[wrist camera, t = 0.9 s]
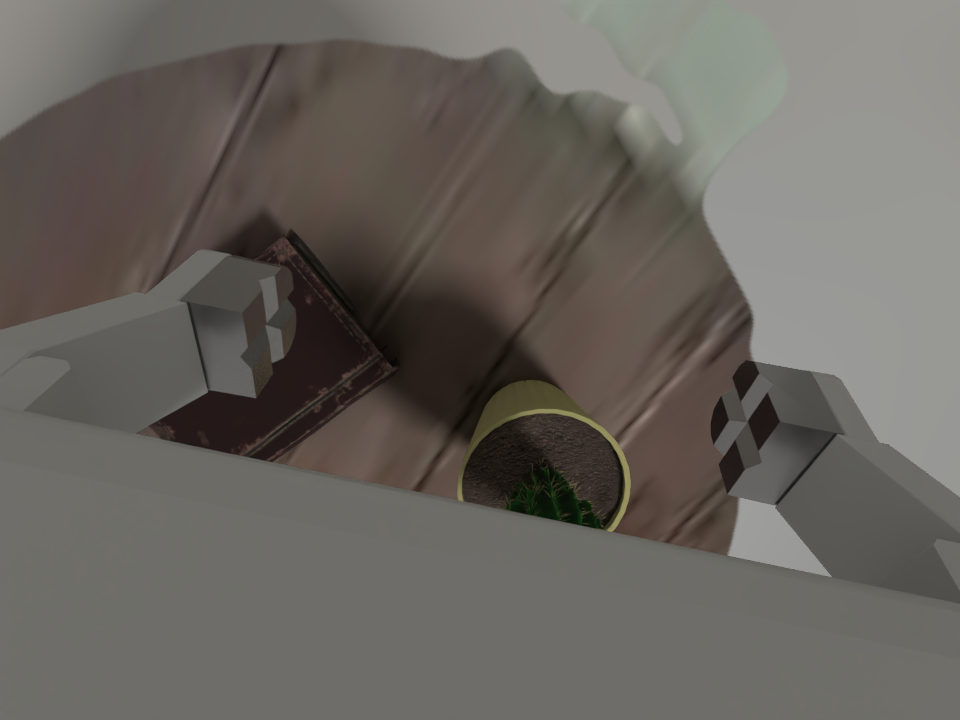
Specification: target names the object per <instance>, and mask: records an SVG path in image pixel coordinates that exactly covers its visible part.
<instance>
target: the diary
mask: <svg viewBox="0 0 960 720" xmlns="http://www.w3.org/2000/svg"><path fill="white" fill-rule="evenodd" d="M254 260H258V261H263V262H267V263H272V264H276V265H281V266H285V267H288V269H289V270H290V271H291V272H292V278H293V286H294V289H293V291H292V292H291V293H290V294H289V296H288V297H287V299H288V300H289V302H290V303H291V304H292V305H293V307H294V308H295V309H296V331H295V335H294V339H293V342H292V345H291V348H290V349H289V351H288V352H287V354H286V355H285V357H284V358H282V359H280V360H278V361H276V362H274V363H272V368H273V375H272V376H271V378H270V379H269V381H268V382H267V383H266V385H265V386H264V388H263V389H262V391H261V392H260V394H259V395H258V397H257V398H252V397H246V396H241V395H235V394H229V393H224V392H218V391H212V390H208V392H207V393H206V394H204V395H202V396H200V397H199V398H197V399H195V400H193V401H191V402H190V403H188V404H186V405H184V406H183V407H181V408H179V409H177V410H176V411H174V412H172V413H170V414H168V415H167V416H165V417H163V418H161V419H160V420H158V421H156V422H154V423H152V424H151V425H149V427H150V428H151V429H152V430H153V431H154V432H155V433H156V434H157V435H158V436H159V437H160V438H161V439H162V440H167V441H172V442H177V443H181V444H186V445H191V446H196V447H201V448H205V449H210V450H215V451H220V452H224V453H229V454H234V455H239V456H244V457H249V458H254V459H259V460H263V461H268V462H273V461H275V460H276V459H277V458H279V457H280V456H282V455H283V454H285V453H286V452H287V451H289V450H290V449H292V448H293V447H295V446H296V445H297V444H299V443H300V442H302V441H303V440H305V439H306V438H307V437H309V436H310V435H312V434H313V433H315V432H316V431H317V430H319V429H320V428H321V427H323V426H324V425H325V424H326V423H328V422H329V421H330V420H332V419H333V418H334V417H336V416H337V415H338V414H340V413H341V412H342V411H344V410H345V409H346V408H347V407H349V406H350V405H351V404H353V403H354V402H355V401H357V400H358V399H360V398H361V397H363V396H364V395H366V394H367V393H368V392H370V391H371V390H373V389H374V388H376V387H377V386H379V385H380V384H382V383H383V382H384V381H386V380H387V379H389V378H390V377H392V376H393V375H394V374H395V372H396V371H397V369H398V367H399V365H400V360H399V359H398V358H396V359H394V360H393V361H392V362H390V363H389V362H388V361H387V360H386V359H385V358H384V356H383V353H382V350H383V349H385V348H386V347H387V345H386V346H385V347H384V348H382V349H381V350H378V349H377V348H376V347H375V342H374V341H373V340H372V339H371V337H370V336H369V335H368V334H367V333H366V331H365V330H364V329H363V328H362V326H361V325H360V324H359V323H358V321H357V320H356V319H355V318H354V317H353V315H352V314H351V313H350V312H351V311H352V310H354V309H356V307H355V305H354V304H353V303H352V301H351V300H350V299H349V298H348V296H347V295H346V294H345V293H344V291H343V290H342V289H341V288H340V286H339V285H338V284H337V283H336V281H335V280H334V279H333V278H332V276H331V275H330V274H329V273H328V271H327V270H326V269H325V267H324V266H323V265H322V263H321V262H320V261H319V260H318V259H317V257H316V256H315V255H314V254H313V253H312V252H311V250H310V249H309V248H308V247H307V246H306V245H305V243H304V242H303V241H302V240H301V239H300V238H299V237H298V236H297V235H296V234H295V233H294V234H293V235H292V236H291V237H289V238H288V239H286V237H285V236H284V235H283V236H281V237H280V238H279V239H278V240H277V241H275V242H274V243H273V244H272V245H270V246H269V247H268V248H267V249H266V250H264V251H263V252H262V253H261V254H259V255H258V256H257V257H256V258H255V259H254Z"/></svg>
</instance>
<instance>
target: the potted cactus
mask: <svg viewBox="0 0 960 720" xmlns="http://www.w3.org/2000/svg"><path fill="white" fill-rule="evenodd" d="M629 495H630V474H629V467H628V464H627V462H626V459H625V456H624V454H623V452H622V450H621V449H620V447H619V445H618V444H617V442H616V441H615V439H614V438H613V437H612V436H611V435H610V434H609V433H608V432H607V431H606V430H605V429H604V428H603V427H601V426H600V425H599V424H598V423H596V422H595V421H594V420H593V419H592V418H591V417H590V416H589V415H588V414H587V413H585V412H584V411H583V410H582V409H581V408H580V407H579V406H578V405H577V404H576V403H575V402H574V401H573V400H572V399H570V398H569V397H568V396H567V395H566V394H565V393H564V392H563V391H562V390H560V389H558V388H557V387H556V386H554V385H551V384H549V383H547V382H543V381H538V380H523V381H517V382H514V383H511V384H509V385H507V386H505V387H503V388H502V389H500V390H499V391H498V392H496V393H495V394H494V395H493V396H492V397H491V399H490V400H489V401H488V403H487V404H486V406H485V408H484V411H483V412H482V415H481V417H480V420H479V422H478V424H477V427H476V429H475V432H474V434H473V437H472V439H471V442H470V444H469V447H468V449H467V452H466V454H465V456H464V459H463V462H462V465H461V469H460V474H459V478H458V500H459V501H464V502H469V503H474V504H479V505H484V506H488V507H493V508H498V509H503V510H508V511H513V512H517V513H522V514H527V515H532V516H537V517H542V518H547V519H551V520H556V521H561V522H566V523H571V524H576V525H580V526H585V527H590V528H595V529H600V530H605V531H609V532H612V531H613V530H614V529H615V528H616V527H617V525H618V524H619V522H620V520H621V518H622V516H623V515H624V513H625V510H626V506H627V503H628V500H629ZM614 531H615V530H614Z"/></svg>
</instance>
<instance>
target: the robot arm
mask: <svg viewBox="0 0 960 720" xmlns="http://www.w3.org/2000/svg"><path fill="white" fill-rule="evenodd" d="M293 289H294V286H293V278H292V272H291V271H290V270H289V269H288V267H285V266H281V265H276V264H272V263H267V262H263V261H258V260H254V259H249V258H245V257H240V256H236V255H231V254H227V253H222V252H217V251H212V250H198V251H197V252H196V253H195V254H193V255H192V256H191V257H190V258H189V259H188V260H186V261H185V262H184V263H183V264H182V265H180V266H179V267H178V268H177V269H176V270H174V271H173V272H172V273H171V274H170V275H168V276H167V277H166V278H165V279H164V280H162V281H161V282H160V283H159V284H158V285H157V286H155V287H154V288H153V289H152V290H151V291H149V292H148V293H147V294H142V293H133V294H130V295H126V296H122V297H119V298H115V299H111V300H108V301H104V302H101V303H97V304H93V305H90V306H86V307H82V308H79V309H75V310H72V311H68V312H64V313H61V314H57V315H53V316H50V317H46V318H43V319H39V320H35V321H32V322H28V323H24V324H21V325H17V326H14V327H10V328H6V329H3V330H0V720H960V497H959V496H957V495H956V494H955V493H953V492H952V491H951V490H949V489H948V488H947V487H945V486H944V485H942V484H941V483H940V482H938V481H937V480H936V479H934V478H933V477H931V476H930V475H929V474H928V473H926V472H925V471H923V470H922V469H921V468H919V467H918V466H917V465H915V464H914V463H913V462H911V461H910V460H909V459H907V458H906V457H905V456H903V455H902V454H901V453H899V452H898V451H897V450H895V449H894V448H893V447H891V446H890V445H888V444H884V443H879V442H878V440H877V438H876V437H875V435H874V433H873V432H872V430H871V428H870V427H869V425H868V423H867V422H866V420H865V419H864V417H863V415H862V413H861V412H860V410H859V408H858V407H857V405H856V403H855V402H854V400H853V399H852V397H851V395H850V393H849V392H848V390H847V389H846V387H845V386H844V384H843V382H842V381H841V380H840V379H839V378H837V377H836V376H834V375H830V374H823V373H818V372H811V371H806V370H798V369H793V368H787V367H781V366H776V365H770V364H765V363H759V362H754V361H748V360H746V361H745V362H744V363H742V364H741V365H740V366H739V367H738V369H737V371H736V372H735V374H734V375H733V377H732V378H733V381H734V385H735V389H733V390H731V391H729V392H727V393H725V394H723V395H721V397H720V399H719V401H718V403H717V404H716V406H715V408H714V411H713V415H712V420H711V437H712V441H713V445H714V446H715V447H716V448H717V449H718V450H719V451H720V452H721V453H722V454H723V455H724V457H723V459H722V460H721V462H720V463H719V467H720V470H721V474H722V477H723V481H724V484H725V488H726V491H727V495H732V496H736V497H740V498H745V499H749V500H754V501H758V502H762V503H766V504H771V505H776V509H777V510H778V512H779V513H780V514H781V515H782V516H783V518H784V519H785V520H786V521H787V522H788V524H789V525H790V526H791V527H792V528H793V530H794V531H795V532H796V533H797V535H798V536H799V537H800V538H801V539H802V541H803V542H804V543H805V544H806V546H807V547H808V548H809V549H810V550H811V552H812V553H813V554H814V555H815V556H816V558H817V559H818V560H819V561H820V563H821V564H822V565H823V566H824V567H825V569H826V570H827V571H828V572H829V574H830V575H831V576H832V577H828V576H823V575H818V574H813V573H809V572H804V571H799V570H794V569H789V568H784V567H779V566H775V565H770V564H765V563H760V562H755V561H750V560H745V559H741V558H736V557H731V556H726V555H721V554H716V553H711V552H707V551H702V550H697V549H692V548H687V547H682V546H677V545H673V544H668V543H663V542H658V541H653V540H648V539H643V538H639V537H634V536H629V535H624V534H619V533H614V532H609V531H605V530H600V529H595V528H590V527H585V526H580V525H576V524H571V523H566V522H561V521H556V520H551V519H547V518H542V517H537V516H532V515H527V514H522V513H517V512H513V511H508V510H503V509H498V508H493V507H488V506H484V505H479V504H474V503H469V502H464V501H459V500H455V499H450V498H445V497H440V496H435V495H430V494H426V493H421V492H416V491H411V490H406V489H401V488H396V487H391V486H386V485H381V484H377V483H372V482H367V481H362V480H357V479H352V478H347V477H342V476H337V475H332V474H327V473H322V472H318V471H313V470H308V469H303V468H298V467H293V466H288V465H283V464H278V463H273V462H268V461H263V460H259V459H254V458H249V457H244V456H239V455H234V454H229V453H224V452H220V451H215V450H210V449H205V448H201V447H196V446H191V445H186V444H181V443H177V442H172V441H167V440H162V439H158V438H153V437H148V436H143V435H138V434H135V433H137V432H138V431H140V430H142V429H144V428H145V427H147V426H149V425H151V424H152V423H154V422H156V421H158V420H160V419H161V418H163V417H165V416H167V415H168V414H170V413H172V412H174V411H176V410H177V409H179V408H181V407H183V406H184V405H186V404H188V403H190V402H191V401H193V400H195V399H197V398H199V397H200V396H202V395H204V394H206V393H207V392H208V390H212V391H218V392H224V393H229V394H235V395H241V396H246V397H252V398H257V397H258V395H259V394H260V392H261V391H262V389H263V388H264V386H265V385H266V383H267V382H268V381H269V379H270V378H271V376H272V375H273V368H272V363H274V362H276V361H278V360H280V359H282V358H284V357H285V355H286V354H287V352H288V351H289V349H290V348H291V345H292V342H293V339H294V335H295V331H296V309H295V308H294V307H293V305H292V304H291V303H290V302H289V300H288V299H287V297H288V296H289V294H290V293H291V292H292V291H293Z"/></svg>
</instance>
